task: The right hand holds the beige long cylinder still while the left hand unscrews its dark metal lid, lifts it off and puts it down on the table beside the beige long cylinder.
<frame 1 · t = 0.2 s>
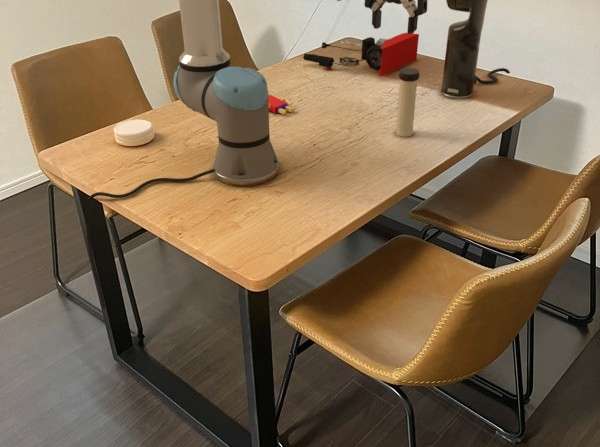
left hand: (358, 4, 166), 28 cm above the table, tool pointing down, fingers open, 13 cm apart
right hand: (393, 30, 140), 29 cm above the table, tool pointing down, fingers open, 8 cm apart
toy figure: (274, 108, 178), on the table
electric hoist: (360, 62, 213), on the table
beige long cylinder: (404, 133, 163), on the table
lid: (409, 72, 154), point 16 cm above the table, screwed on, not yet turned
white short cylinder: (135, 139, 162), on the table
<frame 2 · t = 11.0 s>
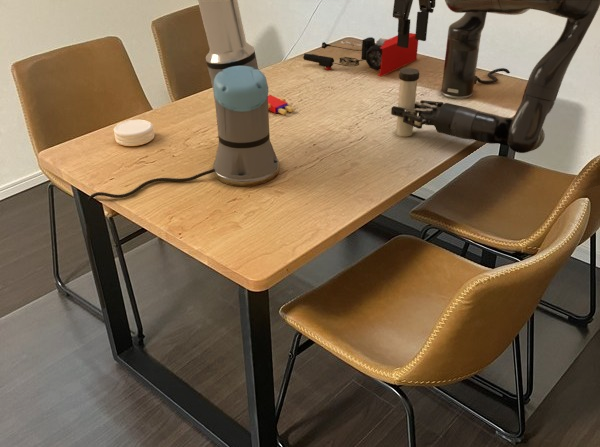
left hand: (411, 43, 150), 24 cm above the table, tool pointing down, fingers open, 7 cm apart
right hand: (396, 107, 160), 7 cm above the table, tool horizontal, fingers closed on beige long cylinder, 4 cm apart
beige long cylinder: (404, 133, 163), on the table, touching right hand
everything else where it was.
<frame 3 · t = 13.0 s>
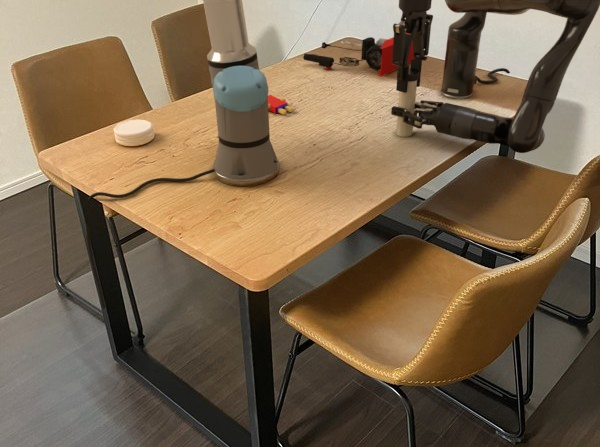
left hand: (408, 88, 156), 12 cm above the table, tool pointing down, fingers closed on lid, 5 cm apart
right hand: (396, 107, 160), 7 cm above the table, tool horizontal, fingers closed on beige long cylinder, 4 cm apart
beige long cylinder: (404, 133, 163), on the table, touching right hand
lid: (409, 72, 154), point 16 cm above the table, screwed on, not yet turned, touching left hand
everything else where it was.
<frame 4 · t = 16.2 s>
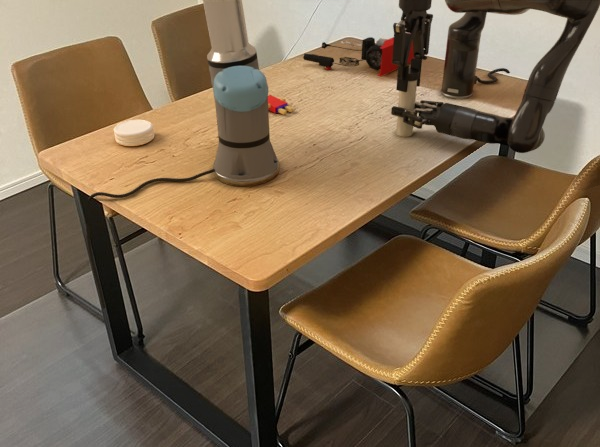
left hand: (408, 87, 156), 13 cm above the table, tool pointing down, fingers closed on lid, 5 cm apart
right hand: (396, 107, 160), 7 cm above the table, tool horizontal, fingers closed on beige long cylinder, 4 cm apart
beige long cylinder: (404, 133, 163), on the table, touching right hand
lid: (409, 71, 154), point 17 cm above the table, turned 95° so far, risen 0.2 cm, still on its thread, touching left hand
everything else where it was.
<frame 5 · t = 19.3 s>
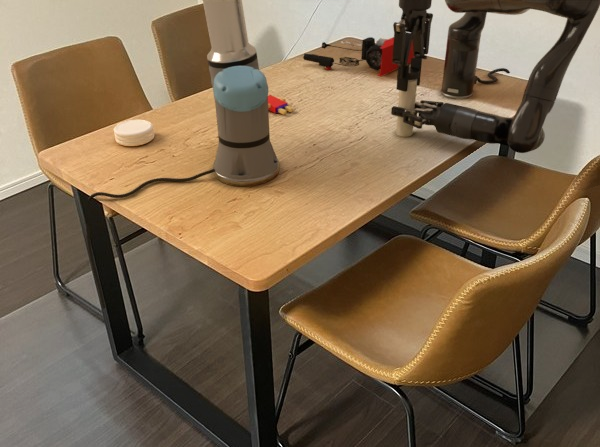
left hand: (408, 86, 156), 13 cm above the table, tool pointing down, fingers closed on lid, 5 cm apart
right hand: (396, 107, 160), 7 cm above the table, tool horizontal, fingers closed on beige long cylinder, 4 cm apart
beige long cylinder: (404, 133, 163), on the table, touching right hand
lid: (409, 71, 154), point 17 cm above the table, turned 191° so far, risen 0.3 cm, still on its thread, touching left hand
everything else where it was.
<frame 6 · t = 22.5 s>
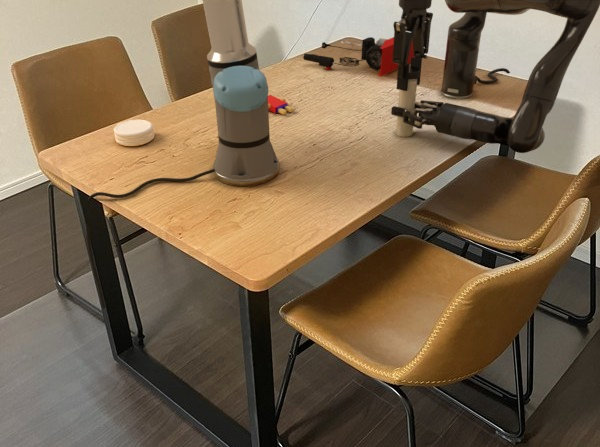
left hand: (408, 86, 156), 13 cm above the table, tool pointing down, fingers closed on lid, 5 cm apart
right hand: (396, 107, 160), 7 cm above the table, tool horizontal, fingers closed on beige long cylinder, 4 cm apart
beige long cylinder: (404, 133, 163), on the table, touching right hand
lid: (409, 70, 154), point 17 cm above the table, turned 286° so far, risen 0.5 cm, still on its thread, touching left hand
everything else where it was.
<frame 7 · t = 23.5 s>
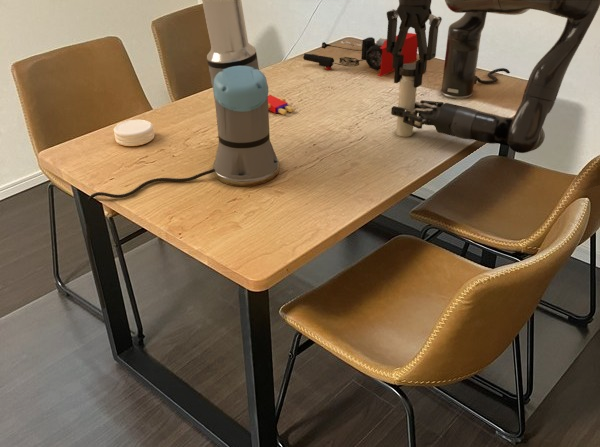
left hand: (407, 83, 155), 14 cm above the table, tool pointing down, fingers closed on lid, 5 cm apart
right hand: (396, 107, 160), 7 cm above the table, tool horizontal, fingers closed on beige long cylinder, 4 cm apart
beige long cylinder: (404, 133, 163), on the table, touching right hand
lid: (409, 67, 153), point 18 cm above the table, off its thread, touching left hand
everything else where it was.
when the left hand's fingers open (0 cm above the table, at t = 28.7 s): lid drops 2 cm, point 1 cm above the table.
when the right hand's fingers open (7 cm above the table, at t = 29.3 s): beige long cylinder stays where it is, on the table.
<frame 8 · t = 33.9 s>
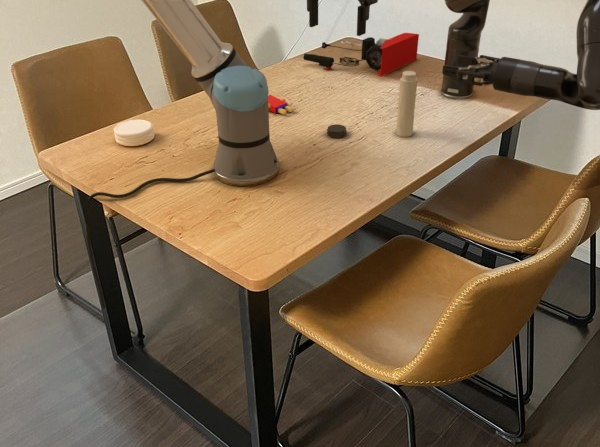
left hand: (336, 30, 148), 27 cm above the table, tool pointing down, fingers open, 13 cm apart
right hand: (450, 64, 147), 20 cm above the table, tool horizontal, fingers open, 8 cm apart
beige long cylinder: (404, 133, 163), on the table
lid: (336, 129, 162), point 1 cm above the table, off its thread
everything else where it was.
at the end: lid came off its thread; lid point 1.4 cm above the table; the left hand is holding nothing; the right hand is holding nothing; beige long cylinder tilted 0°; beige long cylinder moved 0.0 cm from its start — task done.
